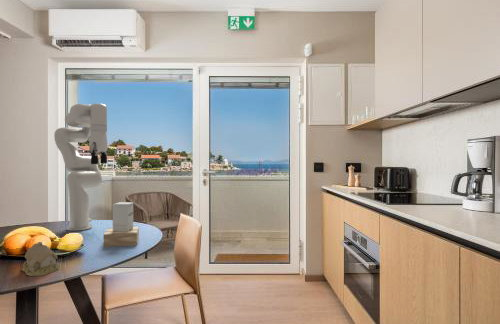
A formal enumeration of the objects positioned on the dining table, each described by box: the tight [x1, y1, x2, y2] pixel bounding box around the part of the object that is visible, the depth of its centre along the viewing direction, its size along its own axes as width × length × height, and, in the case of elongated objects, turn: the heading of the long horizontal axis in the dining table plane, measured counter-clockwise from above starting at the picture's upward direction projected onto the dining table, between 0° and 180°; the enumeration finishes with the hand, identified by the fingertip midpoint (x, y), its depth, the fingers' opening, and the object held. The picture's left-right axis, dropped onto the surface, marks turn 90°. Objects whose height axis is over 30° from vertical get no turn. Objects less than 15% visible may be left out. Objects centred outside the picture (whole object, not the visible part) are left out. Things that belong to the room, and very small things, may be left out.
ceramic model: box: [21, 241, 60, 277], centre depth 125 cm, size 14×11×10 cm
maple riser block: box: [103, 226, 140, 248], centre depth 164 cm, size 14×14×6 cm
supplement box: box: [112, 201, 134, 231], centre depth 165 cm, size 7×7×13 cm
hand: (99, 163), depth 175 cm, fingers open, 9 cm apart
